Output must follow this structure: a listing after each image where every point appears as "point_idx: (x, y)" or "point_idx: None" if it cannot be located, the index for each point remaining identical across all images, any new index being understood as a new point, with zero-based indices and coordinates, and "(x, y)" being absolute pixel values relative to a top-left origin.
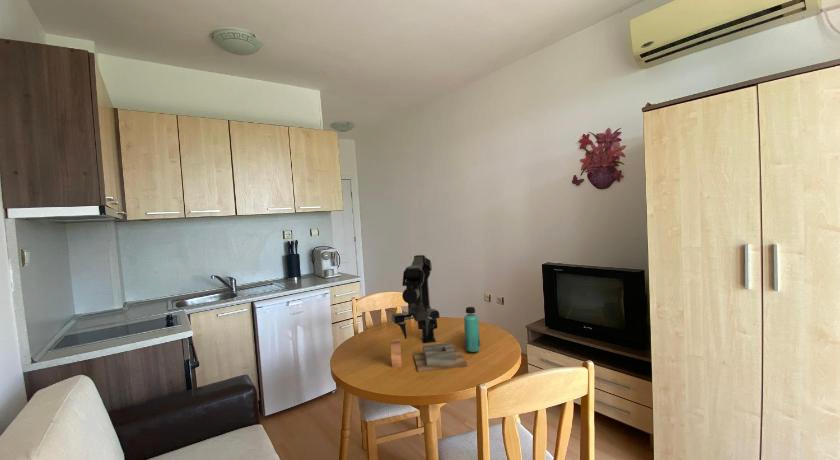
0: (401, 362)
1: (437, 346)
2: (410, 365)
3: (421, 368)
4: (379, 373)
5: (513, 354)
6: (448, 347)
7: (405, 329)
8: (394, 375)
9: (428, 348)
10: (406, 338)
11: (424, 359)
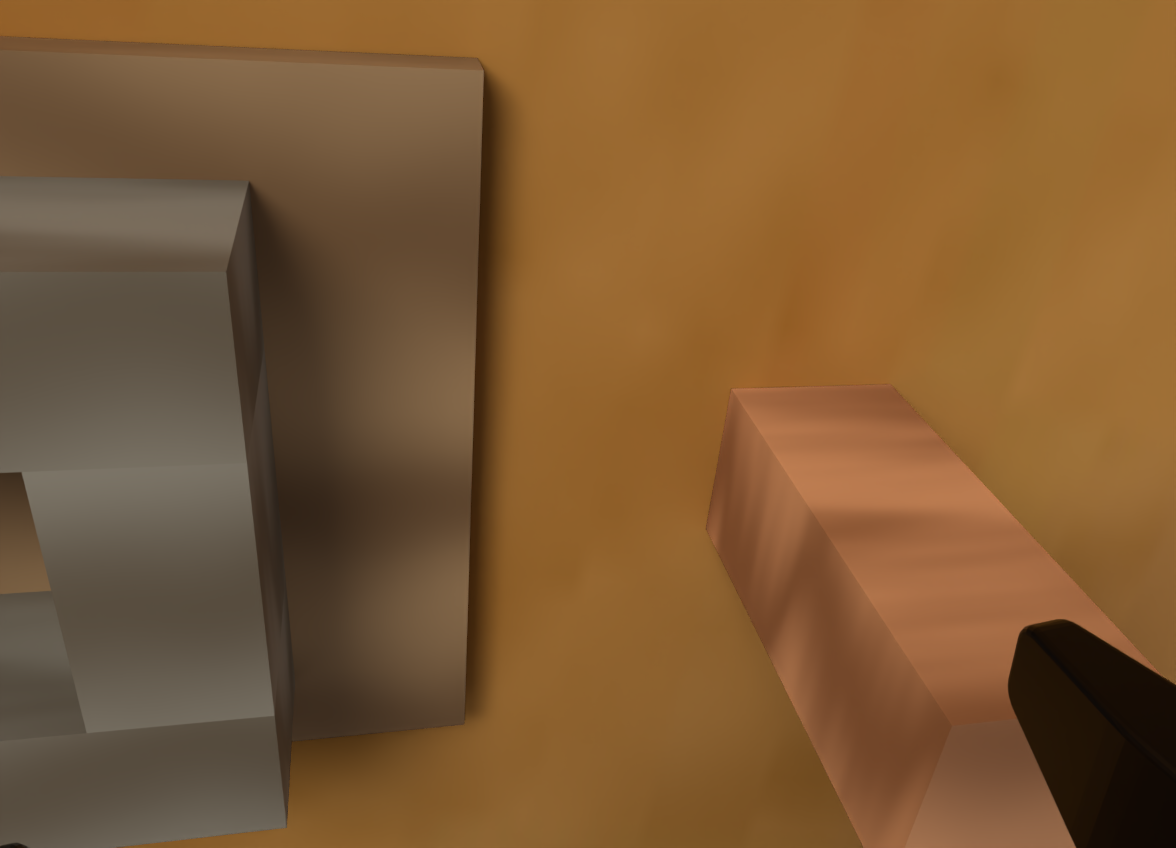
0: (754, 425)
1: None
2: (577, 384)
3: (395, 96)
4: (1145, 211)
5: None
6: None
7: None
8: (954, 47)
9: (155, 694)
10: (1045, 632)
11: (288, 496)
